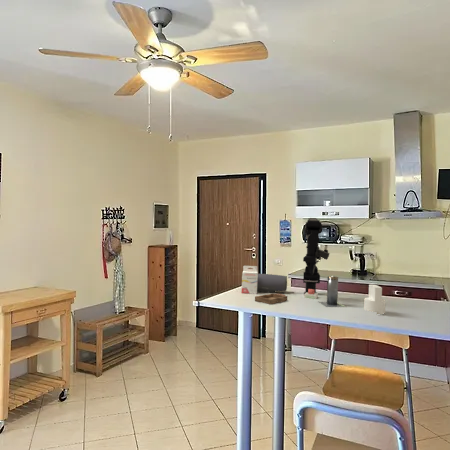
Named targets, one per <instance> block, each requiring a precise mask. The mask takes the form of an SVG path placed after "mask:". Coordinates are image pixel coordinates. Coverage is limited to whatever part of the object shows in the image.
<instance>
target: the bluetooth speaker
mask: <svg viewBox="0 0 450 450" xmlns="http://www.w3.org/2000/svg"><path fill="white" fill-rule="evenodd" d="M287 276H288V275H287ZM287 276H286V275H279V274H272V273H271V274H270V273H258V281H257V293H259V292H260V293H271V294H276V292H286V291H287V289H288V287H287V286H288V280H287V279H288V277H287Z"/></svg>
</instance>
